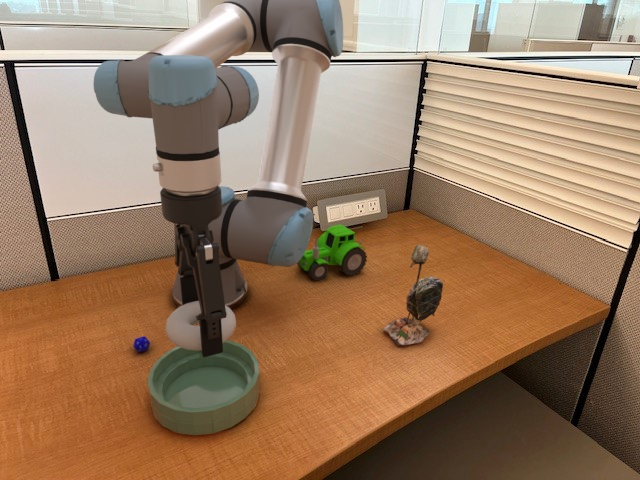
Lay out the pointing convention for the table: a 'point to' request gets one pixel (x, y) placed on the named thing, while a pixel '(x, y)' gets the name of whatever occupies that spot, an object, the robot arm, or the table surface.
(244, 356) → the green ribbed bowl
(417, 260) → the stacked rock sculpture
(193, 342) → the donut
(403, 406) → the table surface
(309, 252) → the toy tractor
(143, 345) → the die
